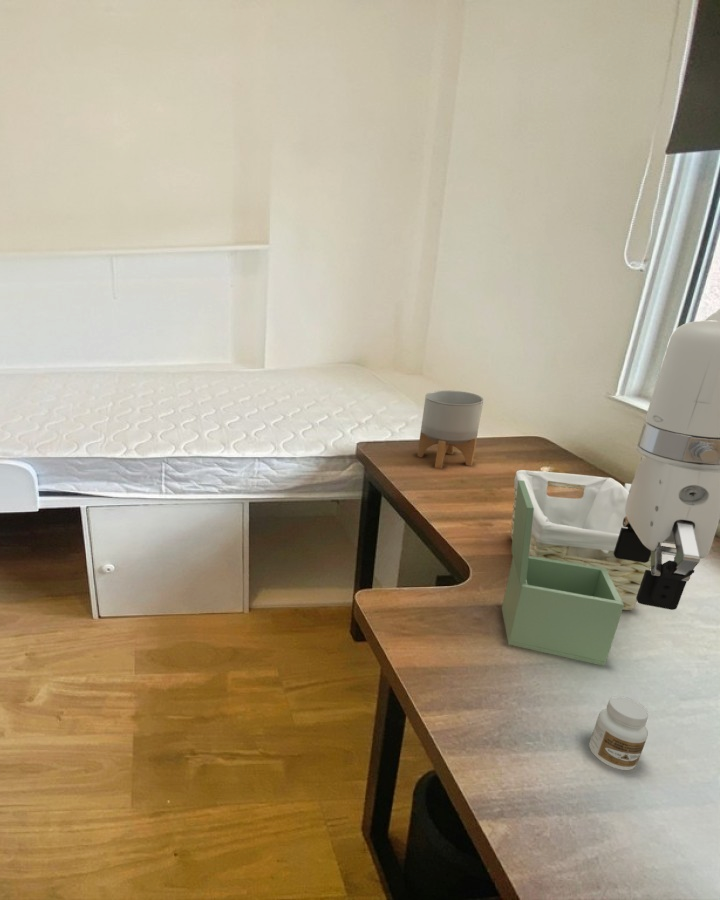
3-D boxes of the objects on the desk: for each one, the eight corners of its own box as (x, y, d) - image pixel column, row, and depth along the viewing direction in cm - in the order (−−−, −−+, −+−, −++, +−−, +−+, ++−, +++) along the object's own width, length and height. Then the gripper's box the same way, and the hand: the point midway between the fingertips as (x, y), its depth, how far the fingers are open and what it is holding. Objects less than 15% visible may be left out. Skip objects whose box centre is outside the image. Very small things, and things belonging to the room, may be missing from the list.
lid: (524, 480, 84) (517, 480, 85) (534, 507, 77) (526, 507, 77) (517, 551, 88) (511, 550, 89) (525, 584, 81) (519, 583, 81)
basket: (643, 620, 88) (671, 540, 82) (520, 599, 94) (538, 523, 89) (599, 545, 108) (618, 476, 102) (500, 532, 114) (513, 467, 109)
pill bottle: (600, 768, 65) (617, 719, 63) (581, 737, 69) (596, 690, 67) (644, 774, 64) (664, 725, 62) (622, 742, 68) (640, 695, 65)
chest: (589, 625, 87) (606, 568, 84) (604, 666, 80) (624, 604, 76) (501, 608, 93) (513, 553, 89) (508, 644, 85) (521, 586, 81)
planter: (476, 457, 149) (488, 394, 143) (465, 473, 141) (477, 407, 134) (424, 448, 158) (432, 388, 151) (411, 463, 149) (419, 400, 142)
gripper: (781, 480, 49) (717, 636, 55) (705, 421, 63) (660, 550, 69) (668, 469, 52) (619, 617, 58) (619, 415, 66) (584, 538, 72)
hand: (641, 580), depth 64 cm, fingers open, 9 cm apart
